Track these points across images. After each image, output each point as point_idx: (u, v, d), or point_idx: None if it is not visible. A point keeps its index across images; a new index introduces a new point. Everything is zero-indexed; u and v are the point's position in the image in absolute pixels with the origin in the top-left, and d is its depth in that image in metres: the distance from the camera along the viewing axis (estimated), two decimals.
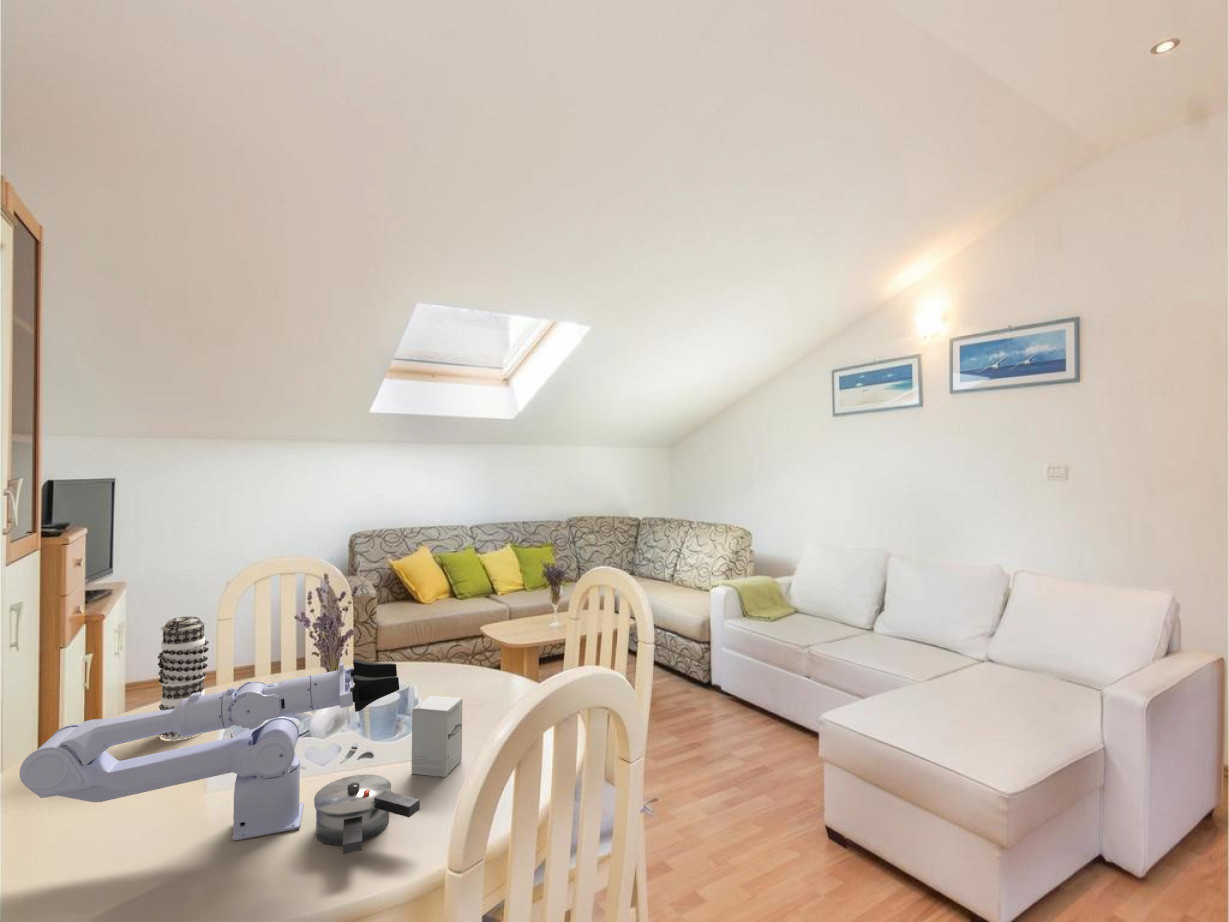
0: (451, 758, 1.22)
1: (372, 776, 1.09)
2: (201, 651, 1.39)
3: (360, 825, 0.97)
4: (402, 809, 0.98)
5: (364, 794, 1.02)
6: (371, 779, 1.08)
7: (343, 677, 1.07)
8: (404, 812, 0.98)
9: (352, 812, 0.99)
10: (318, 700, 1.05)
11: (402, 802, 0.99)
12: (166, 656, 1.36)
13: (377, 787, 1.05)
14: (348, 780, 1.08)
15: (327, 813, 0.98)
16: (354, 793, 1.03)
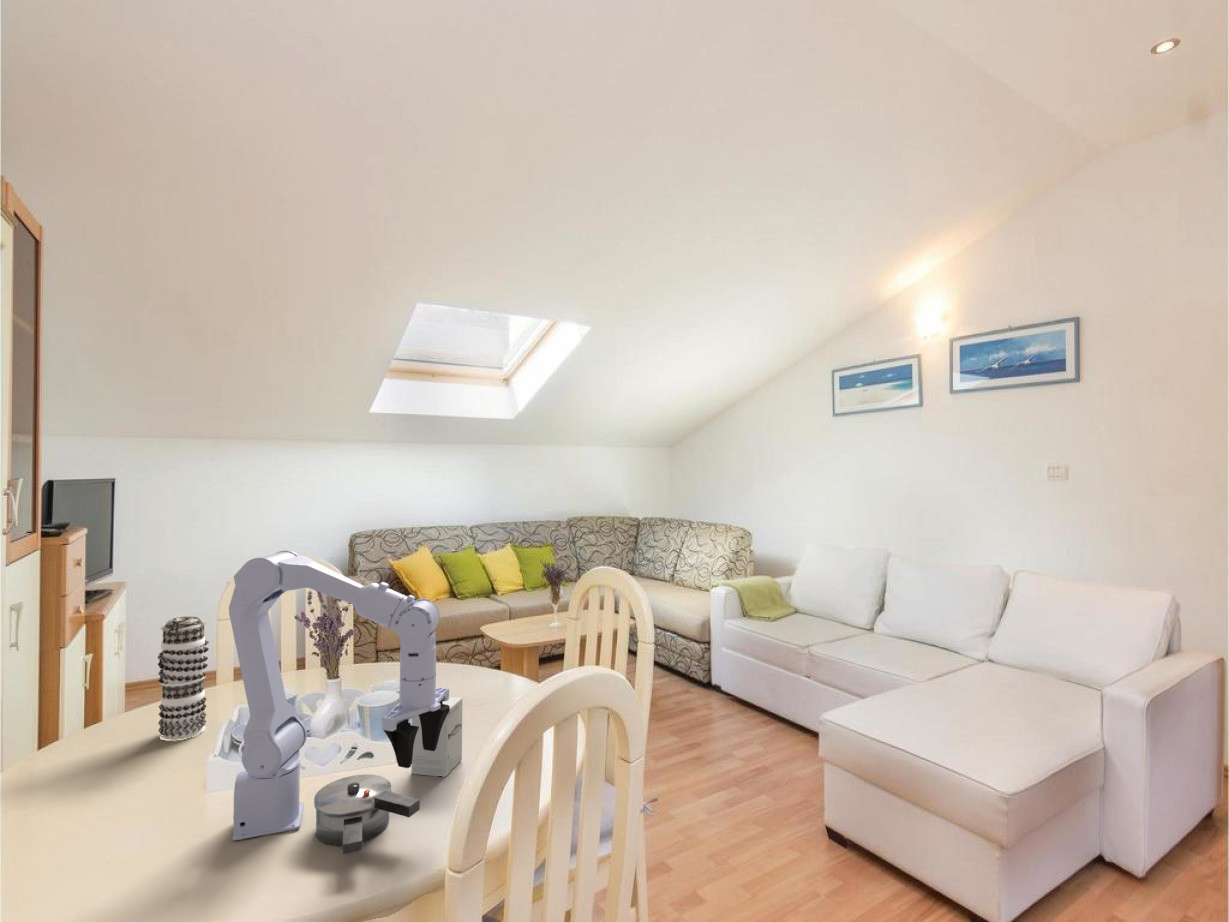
0: (451, 758, 1.22)
1: (372, 776, 1.09)
2: (201, 651, 1.39)
3: (360, 825, 0.97)
4: (402, 809, 0.98)
5: (364, 794, 1.02)
6: (371, 779, 1.08)
7: (419, 713, 1.03)
8: (404, 812, 0.98)
9: (352, 812, 0.99)
10: (404, 686, 1.03)
11: (402, 802, 0.99)
12: (166, 656, 1.36)
13: (377, 787, 1.05)
14: (348, 780, 1.08)
15: (327, 813, 0.98)
16: (354, 793, 1.03)
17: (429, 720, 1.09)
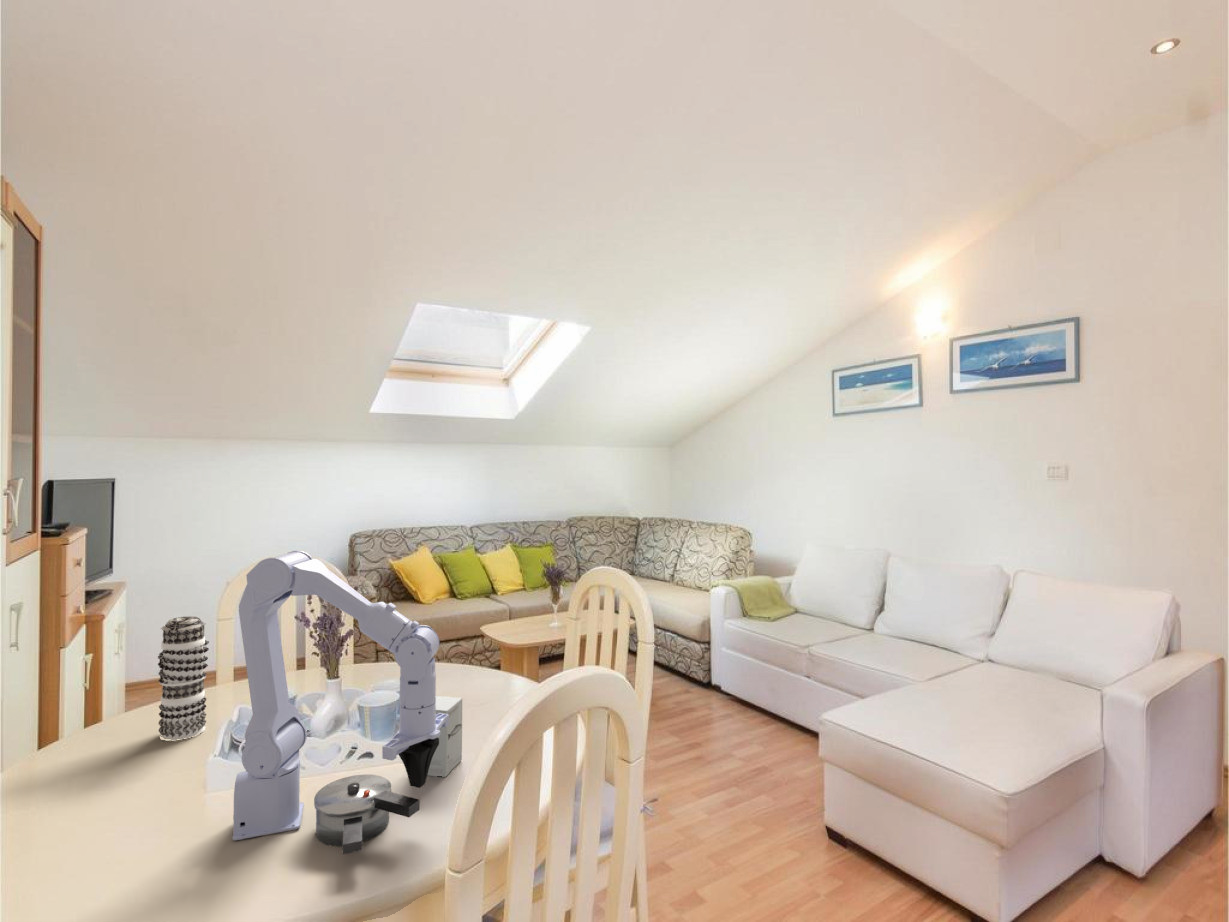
0: (451, 758, 1.22)
1: (372, 776, 1.09)
2: (201, 651, 1.39)
3: (360, 825, 0.97)
4: (402, 809, 0.98)
5: (364, 794, 1.02)
6: (371, 779, 1.08)
7: (419, 741, 1.03)
8: (404, 812, 0.98)
9: (352, 812, 0.99)
10: (404, 714, 1.03)
11: (402, 802, 0.99)
12: (166, 656, 1.36)
13: (377, 787, 1.05)
14: (348, 780, 1.08)
15: (327, 813, 0.98)
16: (354, 793, 1.03)
17: None
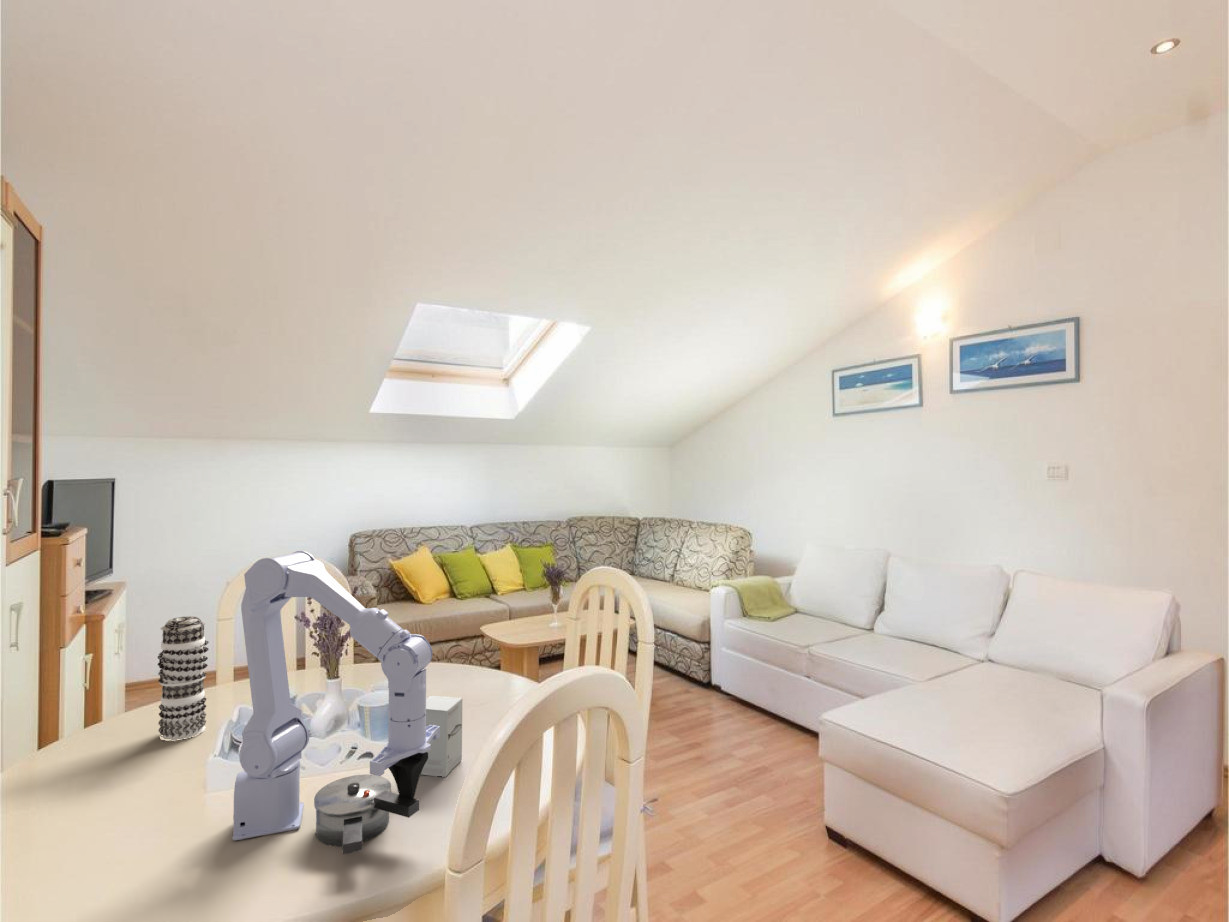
0: (451, 758, 1.22)
1: (372, 776, 1.09)
2: (201, 651, 1.39)
3: (360, 825, 0.97)
4: (402, 809, 0.98)
5: (364, 794, 1.02)
6: (371, 779, 1.08)
7: (408, 755, 0.99)
8: (404, 812, 0.98)
9: (352, 812, 0.99)
10: (392, 727, 0.99)
11: (402, 802, 0.99)
12: (166, 656, 1.36)
13: (377, 787, 1.05)
14: (348, 780, 1.08)
15: (327, 813, 0.98)
16: (354, 793, 1.03)
17: None
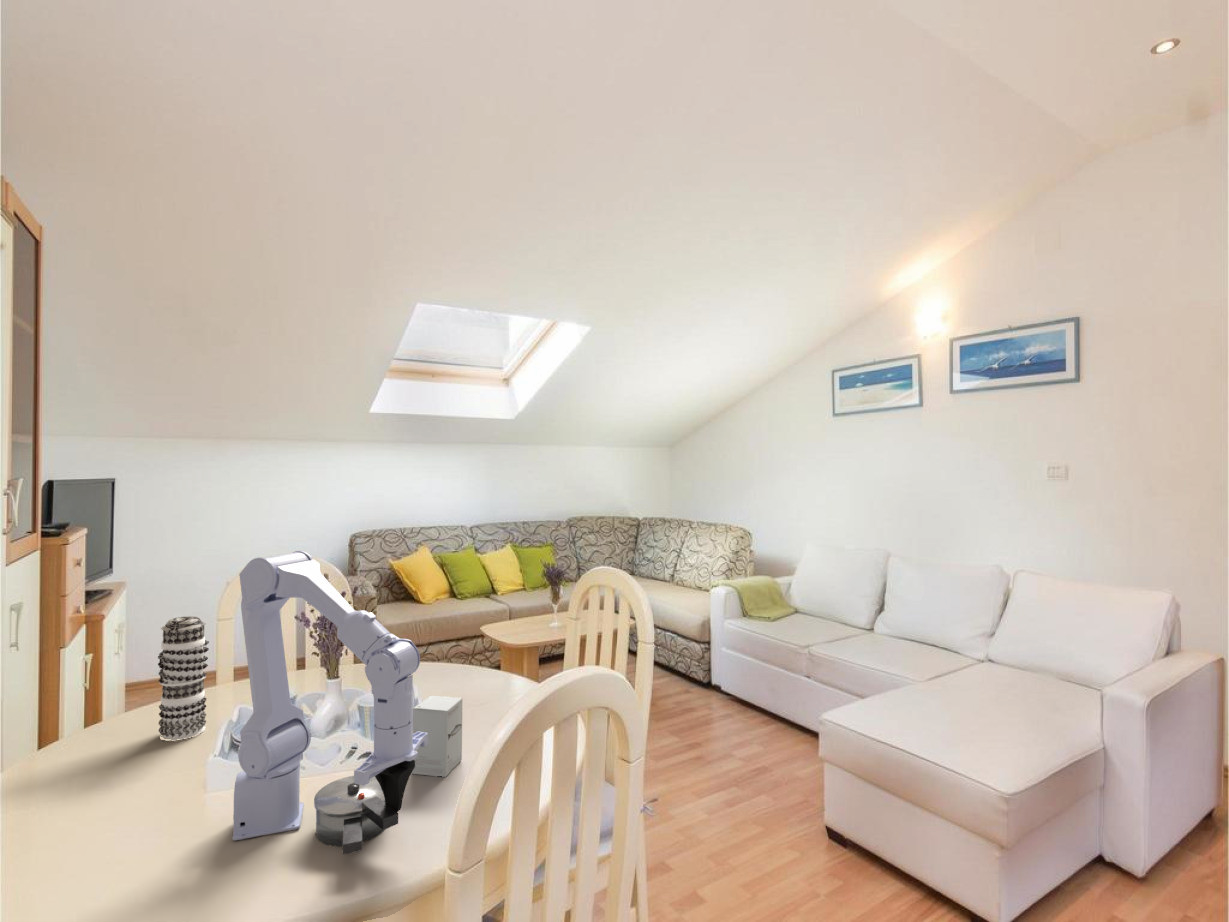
0: (451, 758, 1.22)
1: None
2: (201, 651, 1.39)
3: (360, 825, 0.97)
4: (378, 820, 0.95)
5: (358, 796, 1.02)
6: (377, 782, 1.07)
7: (394, 763, 0.96)
8: (380, 823, 0.95)
9: (338, 813, 0.98)
10: (378, 735, 0.96)
11: (381, 812, 0.96)
12: (166, 656, 1.36)
13: (376, 791, 1.04)
14: None
15: (318, 810, 0.99)
16: (352, 793, 1.03)
17: None
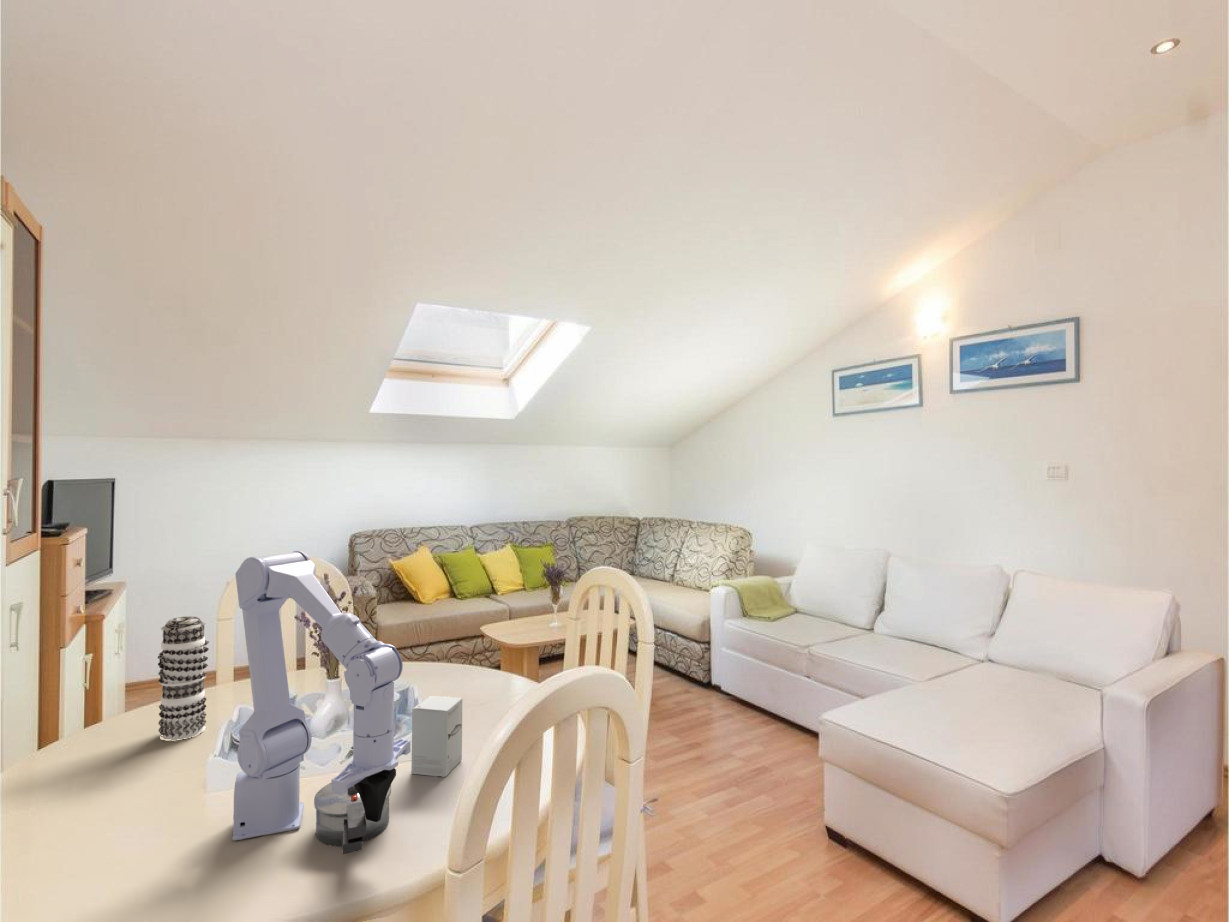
0: (451, 758, 1.22)
1: None
2: (201, 651, 1.39)
3: None
4: None
5: (351, 798, 1.01)
6: None
7: (374, 772, 0.93)
8: None
9: (325, 812, 0.99)
10: (357, 743, 0.94)
11: (352, 820, 0.94)
12: (166, 656, 1.36)
13: None
14: None
15: (314, 804, 1.01)
16: (351, 793, 1.03)
17: None
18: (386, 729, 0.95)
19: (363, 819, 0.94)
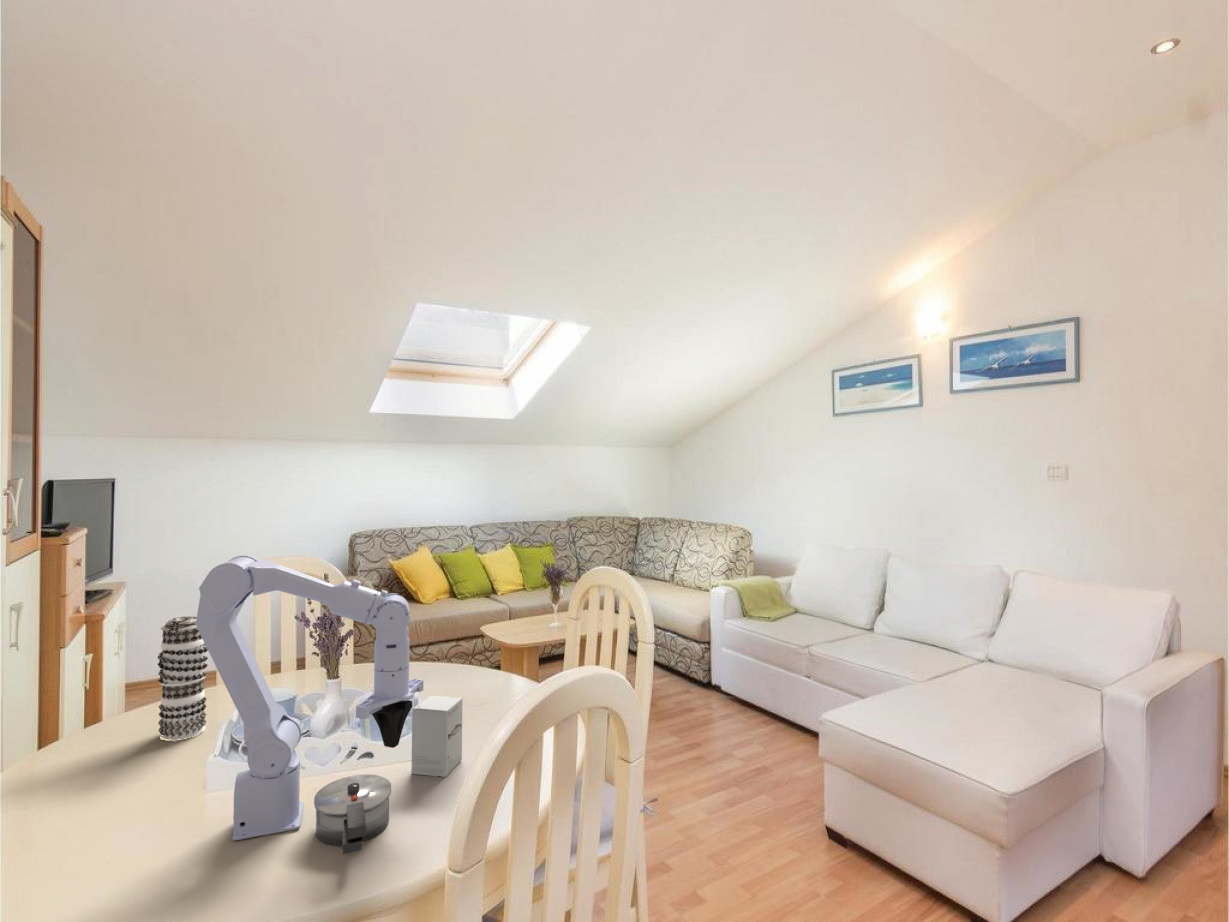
0: (451, 758, 1.22)
1: (386, 782, 1.07)
2: (201, 651, 1.39)
3: None
4: None
5: (350, 798, 1.01)
6: (380, 785, 1.06)
7: (392, 702, 1.07)
8: None
9: (325, 812, 0.99)
10: (377, 677, 1.08)
11: (352, 820, 0.94)
12: (166, 656, 1.36)
13: (371, 795, 1.03)
14: (368, 778, 1.08)
15: (314, 804, 1.01)
16: (351, 793, 1.03)
17: None
18: (408, 662, 1.11)
19: (363, 819, 0.94)
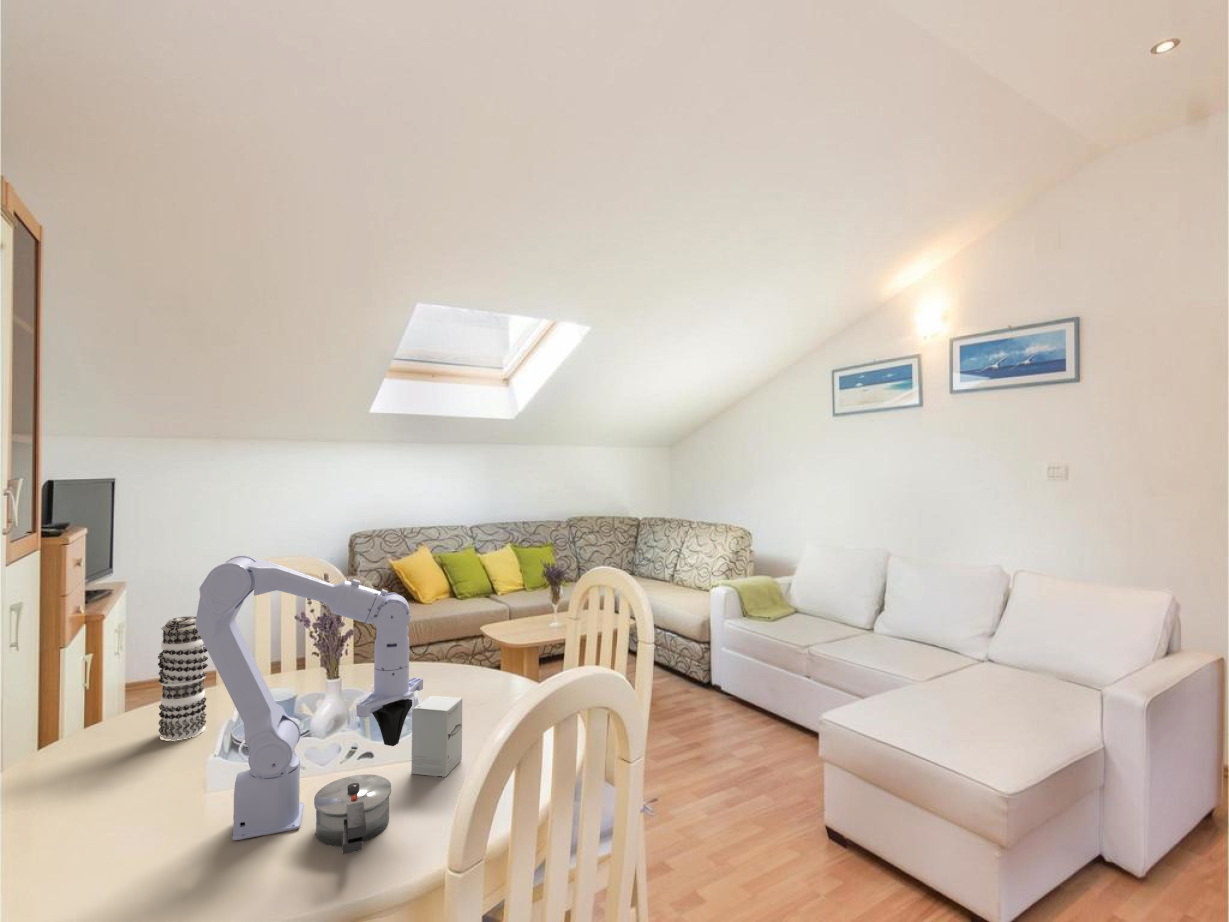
0: (451, 758, 1.22)
1: (386, 782, 1.07)
2: (201, 651, 1.39)
3: None
4: None
5: (350, 798, 1.01)
6: (380, 785, 1.06)
7: (392, 701, 1.08)
8: None
9: (325, 812, 0.99)
10: (378, 675, 1.08)
11: (352, 820, 0.94)
12: (166, 656, 1.36)
13: (371, 795, 1.03)
14: (368, 778, 1.08)
15: (314, 804, 1.01)
16: (351, 793, 1.03)
17: None
18: (408, 661, 1.12)
19: (363, 819, 0.94)
